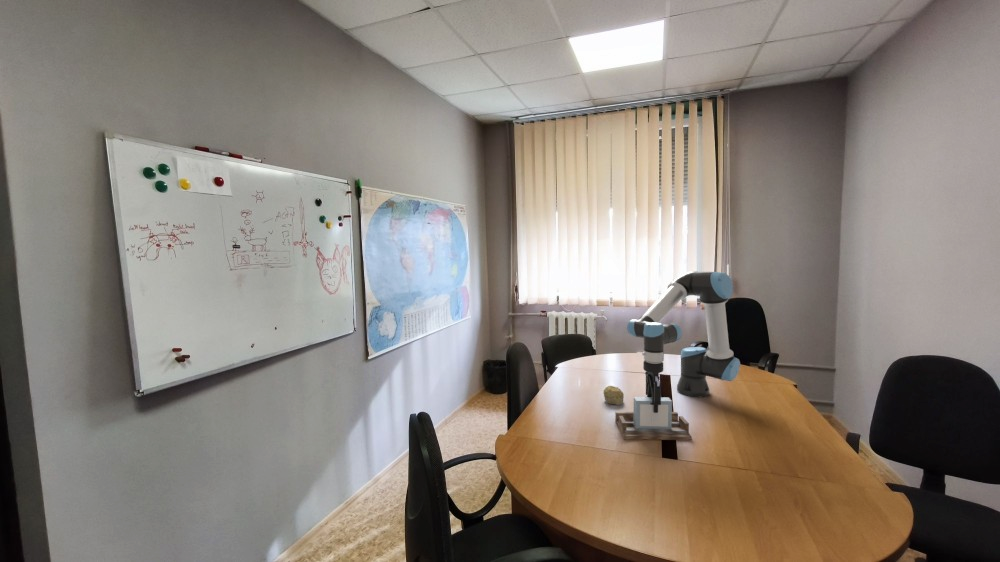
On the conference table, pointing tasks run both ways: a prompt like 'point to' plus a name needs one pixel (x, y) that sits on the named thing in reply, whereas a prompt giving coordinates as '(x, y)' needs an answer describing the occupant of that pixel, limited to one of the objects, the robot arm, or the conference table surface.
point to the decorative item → (613, 395)
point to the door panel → (644, 414)
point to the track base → (630, 432)
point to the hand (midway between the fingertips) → (652, 416)
